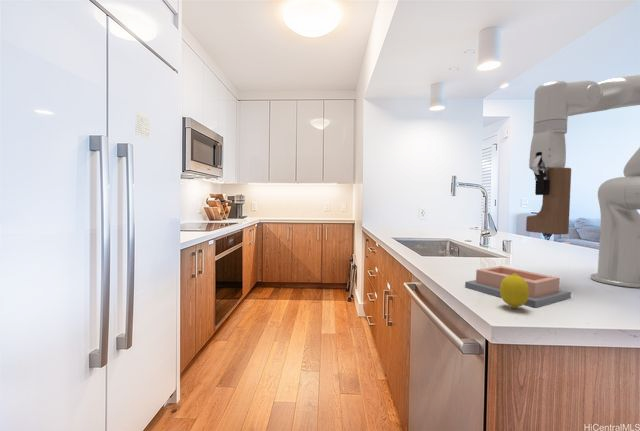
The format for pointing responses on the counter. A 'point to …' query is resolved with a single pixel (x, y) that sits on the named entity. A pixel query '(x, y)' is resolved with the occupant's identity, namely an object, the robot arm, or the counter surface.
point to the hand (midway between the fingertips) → (547, 194)
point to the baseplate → (530, 300)
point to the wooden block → (553, 205)
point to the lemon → (514, 290)
